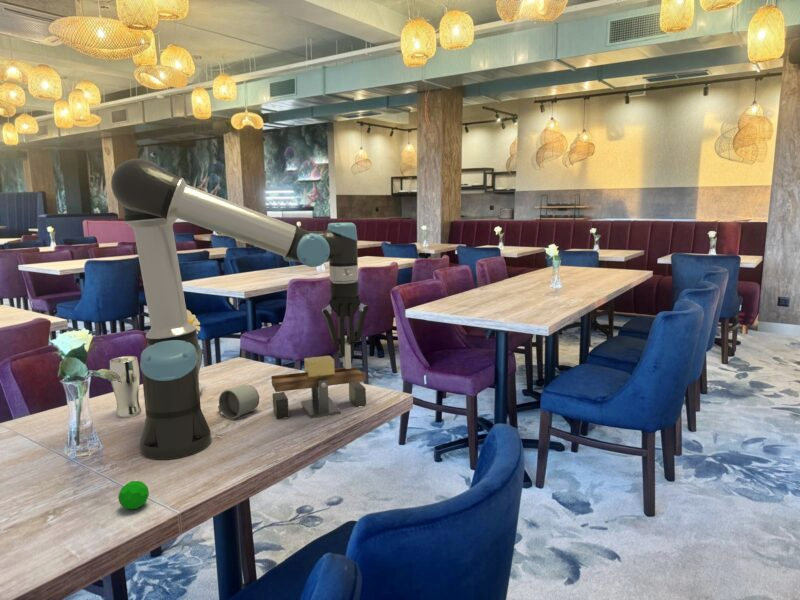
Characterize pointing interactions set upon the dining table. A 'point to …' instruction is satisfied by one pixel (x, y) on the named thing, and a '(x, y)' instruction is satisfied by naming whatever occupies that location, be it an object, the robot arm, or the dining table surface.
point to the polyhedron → (133, 495)
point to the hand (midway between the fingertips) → (347, 367)
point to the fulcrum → (319, 401)
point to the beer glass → (126, 386)
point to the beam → (316, 379)
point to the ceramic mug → (238, 401)
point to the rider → (319, 367)
